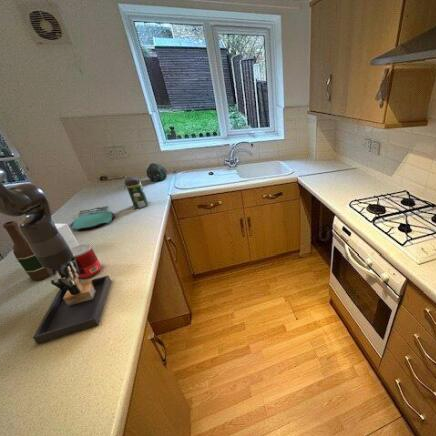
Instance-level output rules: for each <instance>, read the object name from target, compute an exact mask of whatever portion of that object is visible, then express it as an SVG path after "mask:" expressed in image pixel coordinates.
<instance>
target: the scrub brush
mask: <svg viewBox="0 0 436 436" xmlns="http://www.w3.org/2000/svg"><path fill="white" fill-rule="evenodd" d="M78 279H79V277H78V278H77V277H73V281H74V283H75V284H76V286H77V287H78V289H79V291H80V292H79V293H78V294H74V295H71V294H70V292H69V291H68V290H67V292H66V294H65V296H64V298H63V299H64V301H65V302H66V304H67V305H68V306H70V305H74V304H77V303H81V302H84V301H88V300H91V299H93V298H94V295H95V292H96V291H95V289H94V287H93V286H92V284H90V285H86V286H82V285H81V283H80V282H81V281H80V282H79V280H80V279H79V280H78ZM68 282H69V283H70V281H68Z"/></svg>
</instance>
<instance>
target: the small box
mask: <svg viewBox="0 0 436 436" xmlns="http://www.w3.org/2000/svg"><path fill="white" fill-rule="evenodd" d="M54 224H55V226H56V228H57V229H58V231H59V233H60V234H61V235H62V236H63V238H64V239H65V241H66V243H67V245H68V246H69V248H70V249H72V248H74V247H76V246H79V245H80V243H79V242H78V240H77V239H76V236H75V235H74V233H73V232H72V230H71V229H70V226H69V225H68V223H54Z"/></svg>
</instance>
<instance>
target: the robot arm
mask: <svg viewBox="0 0 436 436" xmlns="http://www.w3.org/2000/svg"><path fill="white" fill-rule="evenodd" d="M6 178H7V172H6V171H5V170H4V169H3V168H1V167H0V214H1V215H4V216H6V217H7V216H8V217H12V218H15V217H17V218H19V217H21V216H24V217H23V219H22V220H21V221H20V222H19V224H18V227H19V230H20V232H21V233H22V234H23V236H24V237H25V239H26V240H27V242H28V244H29V246H30V248H31V250H32V252H33V253H34V255H35V256H36V258H37V259H38V261H39V262H40V264H41V265H42V266H43V267H44V268H49V269H51V270H52V273H53V274H52V276H54V279H51V280H50V284H51V285H53V286H54V287H56V288H58V289H61V290H63V289H68V291H69V292H70V294H71V295H74V294H78V293H79V292H80V291H79V289H78V287H77V286H76V284H75V283H74V281H73V277H77V278H78V280H79V282H80V283H81V281H80V279H79V276H78V274H77V273H79V269H78V266H77V262H76V259H75V257H73V253H72V251H71V250H70V248H69V246H68V245H67V243H66V241H65V239H64V238H63V236H62V235H61V234H60V233H59V231H58V229H57V228H56V226H55V224H56V223H54V221H53V219H52V211H51V207H50V203H49V199H48V197H47V195H46V193H45V192H44V191H43V190H42V189H41V188H40V187H38V186H37V185H35V184H32V183H20V184H17V185H15V186H12V187H10V188H7V187H6V186H5V185H4V184H3V183H2V182H3V181H4V180H5V179H6ZM68 281H70V283H69V282H68ZM81 285H82V284H81Z"/></svg>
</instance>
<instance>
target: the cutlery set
mask: <svg viewBox="0 0 436 436" xmlns="http://www.w3.org/2000/svg"><path fill="white" fill-rule="evenodd" d="M78 215H79V216H78V217H77V218H74V219H73V221H72V222H71V224H70V227H71V229H72V230H74V231H79V230H84V229H85V230H86V229H90V228H95V227H98V226H101V225H103V224H110V223H111V222H112V219H113V218H114V217H115V213H114V212H113V211H110V210H109V205H104V206H103V205H102V206H97V207H95V208H90V209H83V210H79V213H78Z"/></svg>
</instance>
